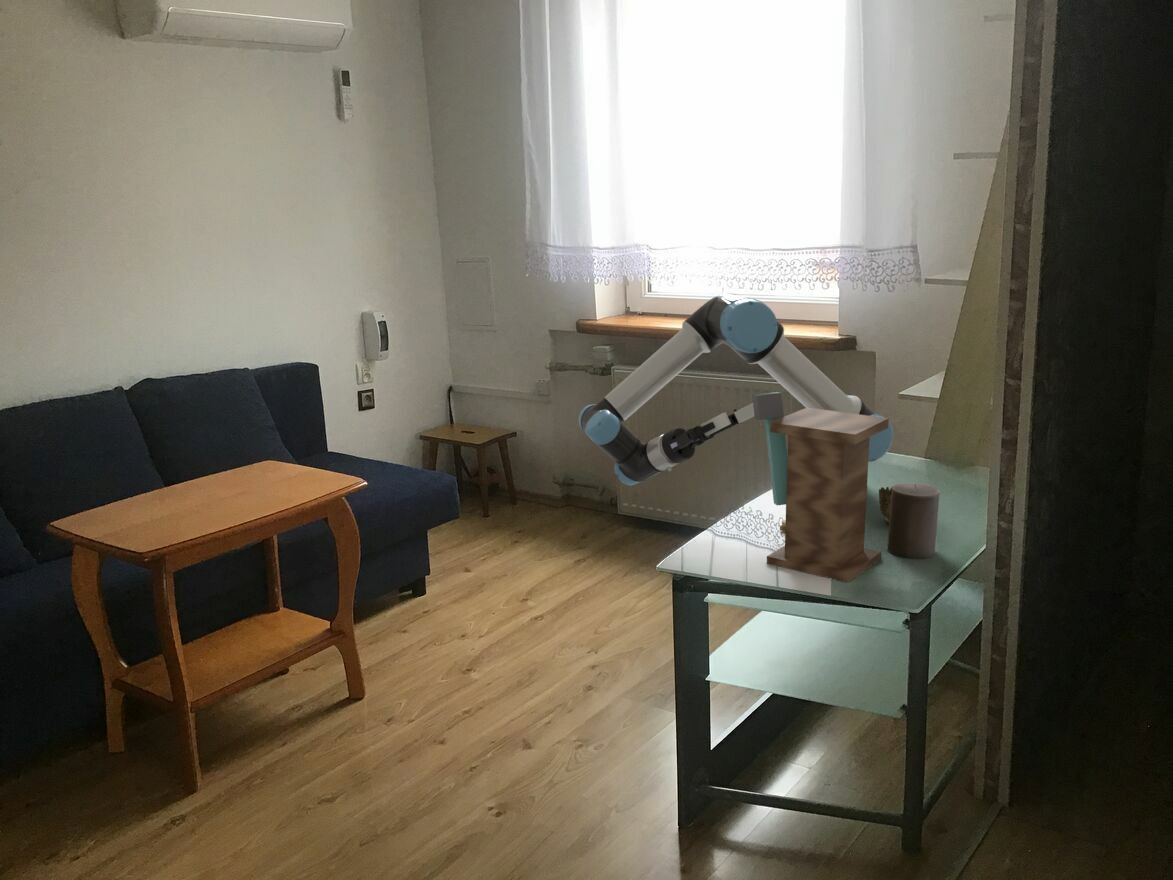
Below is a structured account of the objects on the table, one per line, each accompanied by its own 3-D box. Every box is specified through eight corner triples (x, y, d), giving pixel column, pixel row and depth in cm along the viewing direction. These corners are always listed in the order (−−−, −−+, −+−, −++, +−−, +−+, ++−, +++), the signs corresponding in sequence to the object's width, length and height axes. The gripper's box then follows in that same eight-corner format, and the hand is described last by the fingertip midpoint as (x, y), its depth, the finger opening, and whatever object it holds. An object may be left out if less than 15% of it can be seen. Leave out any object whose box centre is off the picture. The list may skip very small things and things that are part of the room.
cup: (912, 530, 235) (914, 496, 233) (878, 528, 236) (880, 494, 234) (909, 519, 242) (911, 486, 240) (876, 518, 243) (877, 485, 241)
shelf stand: (766, 563, 217) (770, 422, 210) (802, 541, 229) (806, 407, 222) (848, 582, 206) (855, 434, 199) (881, 558, 218) (888, 418, 211)
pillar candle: (890, 558, 219) (895, 489, 215) (884, 541, 228) (889, 475, 224) (939, 560, 217) (945, 491, 214) (930, 543, 227) (936, 477, 223)
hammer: (793, 504, 215) (769, 507, 215) (788, 500, 220) (764, 503, 220) (781, 392, 213) (756, 395, 213) (775, 391, 218) (752, 394, 218)
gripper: (708, 451, 244) (780, 416, 231) (646, 476, 225) (720, 440, 212) (695, 422, 245) (765, 386, 231) (632, 445, 226) (704, 406, 212)
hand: (744, 411), depth 221 cm, fingers open, 13 cm apart
